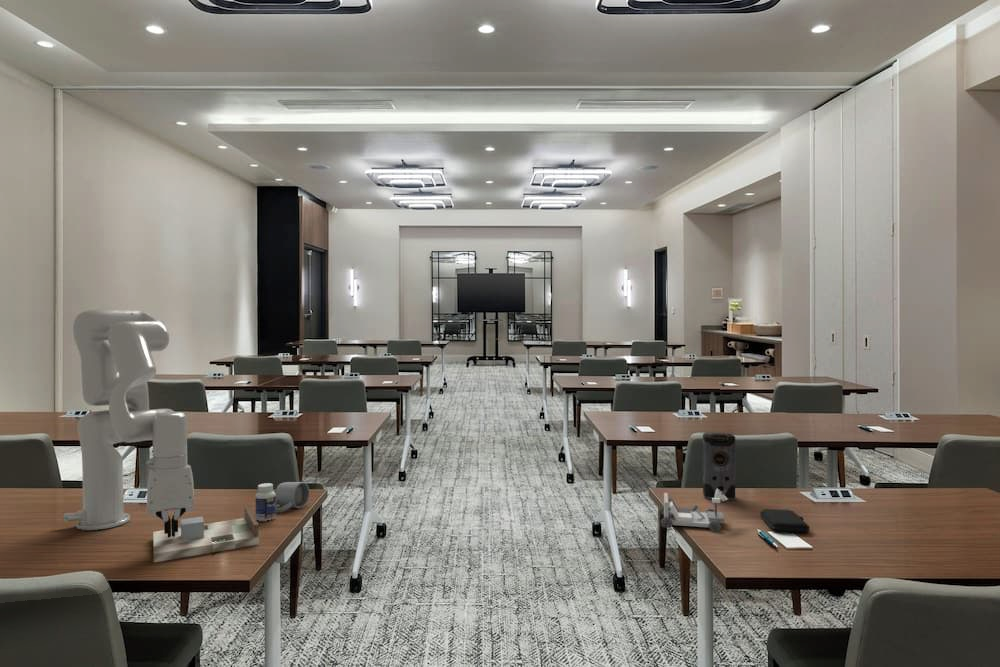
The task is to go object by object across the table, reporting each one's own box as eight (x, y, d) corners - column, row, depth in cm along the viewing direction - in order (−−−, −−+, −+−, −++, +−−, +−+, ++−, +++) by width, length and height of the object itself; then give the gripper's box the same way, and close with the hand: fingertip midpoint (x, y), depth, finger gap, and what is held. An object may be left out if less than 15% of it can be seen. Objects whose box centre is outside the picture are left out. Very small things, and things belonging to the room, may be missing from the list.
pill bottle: (268, 522, 171) (268, 487, 171) (251, 521, 172) (251, 486, 172) (279, 516, 176) (279, 482, 176) (262, 515, 177) (262, 482, 177)
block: (181, 541, 150) (181, 525, 150) (181, 535, 155) (180, 519, 155) (204, 537, 153) (203, 521, 153) (202, 531, 157) (202, 516, 157)
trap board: (153, 562, 142) (153, 541, 142) (153, 539, 157) (153, 520, 157) (258, 544, 153) (258, 524, 153) (248, 524, 169) (248, 506, 169)
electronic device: (705, 499, 191) (705, 436, 191) (702, 494, 197) (702, 432, 196) (736, 500, 189) (736, 436, 189) (732, 495, 195) (732, 433, 195)
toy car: (726, 485, 172) (731, 496, 161) (726, 520, 172) (731, 533, 161) (660, 481, 176) (660, 492, 165) (660, 515, 176) (661, 528, 165)
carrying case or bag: (816, 537, 157) (798, 519, 172) (816, 525, 157) (798, 508, 172) (772, 535, 159) (758, 517, 174) (772, 523, 159) (758, 506, 174)
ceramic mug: (288, 501, 191) (287, 477, 191) (310, 504, 188) (309, 479, 188) (265, 512, 181) (264, 486, 181) (287, 514, 178) (287, 488, 178)
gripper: (134, 468, 144) (135, 545, 144) (204, 461, 152) (205, 534, 152) (135, 462, 151) (136, 536, 151) (202, 456, 158) (203, 526, 158)
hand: (171, 535), depth 151 cm, fingers closed
